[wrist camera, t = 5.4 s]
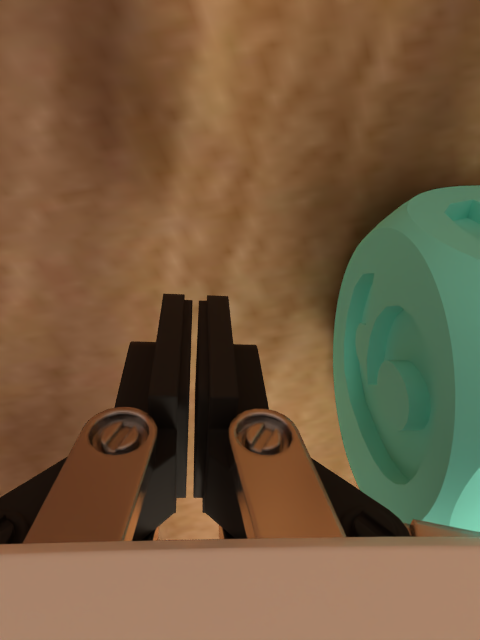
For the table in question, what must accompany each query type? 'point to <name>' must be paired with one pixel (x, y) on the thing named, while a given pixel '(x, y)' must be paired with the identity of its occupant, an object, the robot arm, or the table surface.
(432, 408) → the decorative dice
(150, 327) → the table surface
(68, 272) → the table surface
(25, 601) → the robot arm
